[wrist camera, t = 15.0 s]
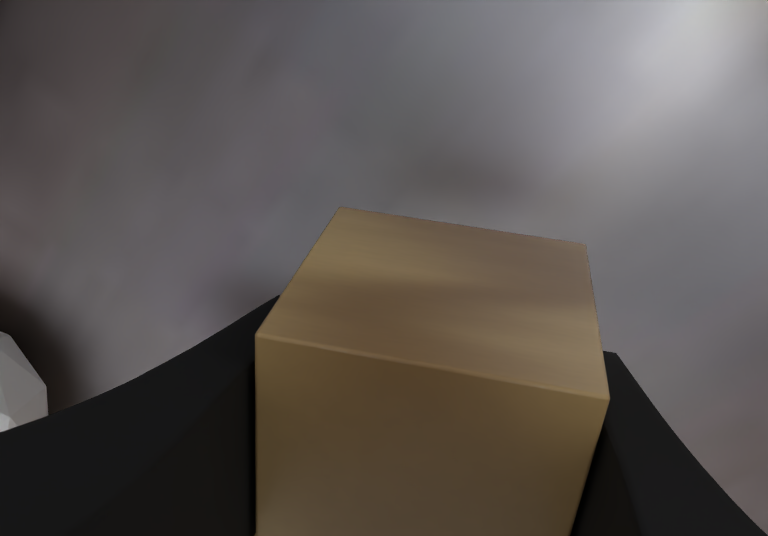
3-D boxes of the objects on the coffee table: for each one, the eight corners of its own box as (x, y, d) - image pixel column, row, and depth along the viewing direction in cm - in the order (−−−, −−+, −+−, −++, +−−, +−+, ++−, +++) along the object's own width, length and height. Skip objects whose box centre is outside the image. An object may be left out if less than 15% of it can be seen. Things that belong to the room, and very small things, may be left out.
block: (587, 243, 11) (612, 397, 7) (539, 439, 13) (541, 637, 9) (338, 205, 11) (253, 333, 8) (327, 399, 13) (254, 572, 10)
